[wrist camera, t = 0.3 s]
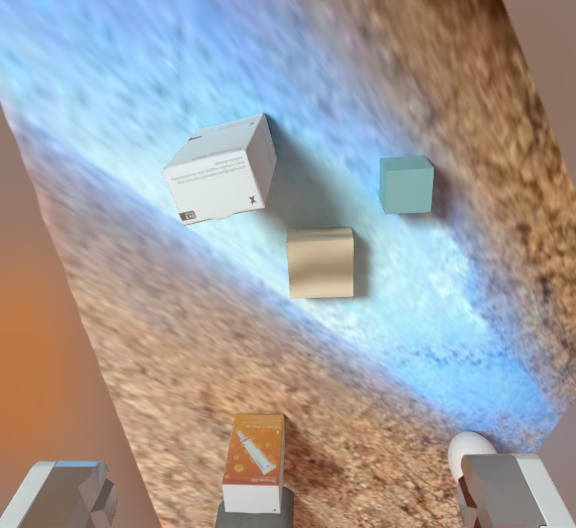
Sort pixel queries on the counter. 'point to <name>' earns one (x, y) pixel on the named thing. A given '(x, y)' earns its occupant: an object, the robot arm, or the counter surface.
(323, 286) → the maple block
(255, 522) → the flask
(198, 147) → the skincare box
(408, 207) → the teal cube
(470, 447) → the egg
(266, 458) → the small box
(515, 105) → the counter surface
